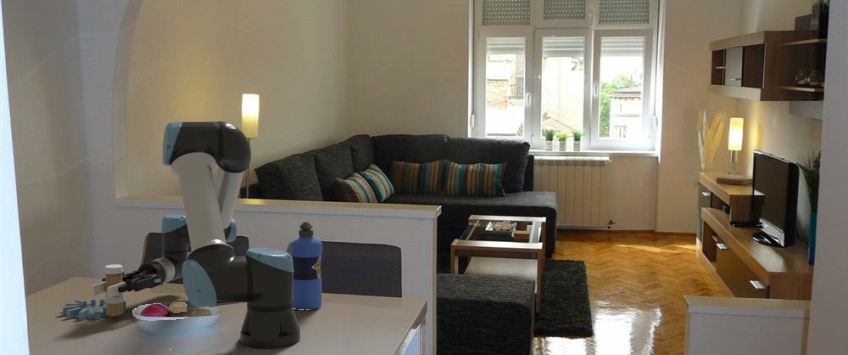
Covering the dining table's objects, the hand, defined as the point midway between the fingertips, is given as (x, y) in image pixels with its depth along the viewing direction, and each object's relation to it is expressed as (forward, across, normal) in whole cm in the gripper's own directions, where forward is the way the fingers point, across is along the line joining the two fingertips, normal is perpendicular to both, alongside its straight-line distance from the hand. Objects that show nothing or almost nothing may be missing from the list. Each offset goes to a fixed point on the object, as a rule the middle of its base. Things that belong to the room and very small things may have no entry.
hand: (100, 291), depth 214 cm
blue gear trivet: (-10, +10, -9) cm, 17 cm away
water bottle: (-36, -42, -10) cm, 57 cm away
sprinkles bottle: (-5, 0, -8) cm, 9 cm away
